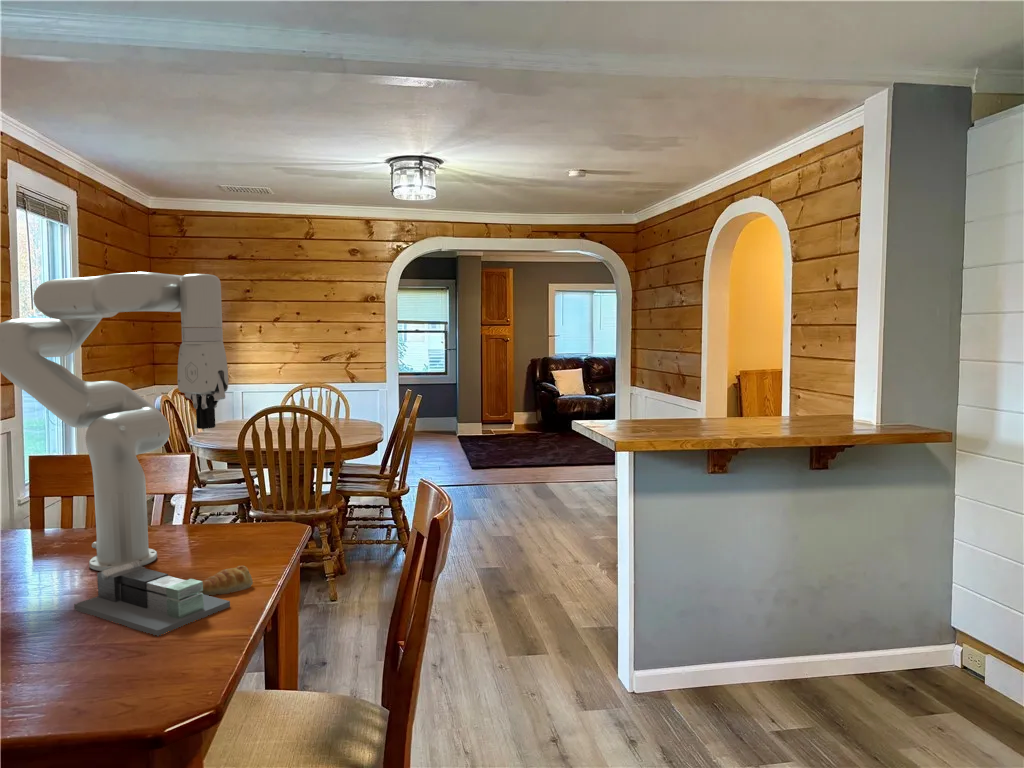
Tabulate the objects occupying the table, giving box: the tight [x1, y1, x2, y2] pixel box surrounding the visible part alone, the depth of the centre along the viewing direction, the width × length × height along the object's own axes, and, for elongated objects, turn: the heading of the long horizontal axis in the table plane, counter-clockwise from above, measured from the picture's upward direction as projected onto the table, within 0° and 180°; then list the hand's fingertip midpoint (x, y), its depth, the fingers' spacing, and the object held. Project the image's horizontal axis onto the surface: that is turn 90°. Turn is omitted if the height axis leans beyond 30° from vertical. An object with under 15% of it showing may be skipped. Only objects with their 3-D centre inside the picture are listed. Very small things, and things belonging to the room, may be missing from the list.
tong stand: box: [96, 560, 204, 619], centre depth 127 cm, size 22×6×5 cm, turn 61°
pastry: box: [200, 565, 254, 596], centre depth 137 cm, size 9×7×4 cm
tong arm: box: [120, 568, 204, 600], centre depth 126 cm, size 16×5×2 cm, turn 61°
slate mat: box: [73, 594, 231, 637], centre depth 127 cm, size 23×14×1 cm, turn 61°
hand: (206, 427), depth 146 cm, fingers closed
